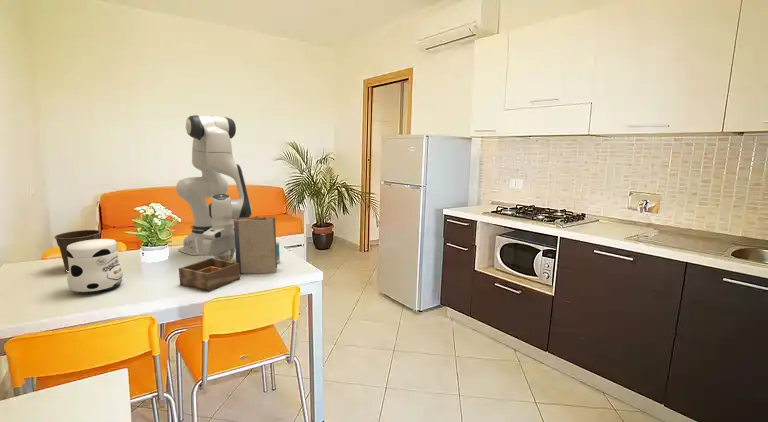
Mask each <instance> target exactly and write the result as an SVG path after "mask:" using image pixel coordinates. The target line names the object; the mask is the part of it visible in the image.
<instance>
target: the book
mask: <svg viewBox="0 0 768 422" xmlns="http://www.w3.org/2000/svg"><path fill="white" fill-rule="evenodd" d="M233 227H234V232H235V263H239V267H240V274H276V273H277V268H278V265H277V264H278V263H277V257H276V239H277V235H276V233H277V232H276V230H277V229H276V217H275V216H272V217H271V216H270V217H269V216H268V217H266V216H264V217H258V215H255V216H254V217H249V218H236V219H234V220H233Z"/></svg>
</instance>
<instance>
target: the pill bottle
mask: <svg viewBox="0 0 768 422" xmlns="http://www.w3.org/2000/svg"><path fill="white" fill-rule="evenodd" d="M276 257H277V264H279V263H280V260H281V256H280V241H279V239H278V238H276Z"/></svg>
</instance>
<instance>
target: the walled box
mask: <svg viewBox="0 0 768 422" xmlns="http://www.w3.org/2000/svg"><path fill="white" fill-rule="evenodd" d="M178 274H179V275H178V276H179V285H180V286H183V287H187V288H191V289H196V290H199V291H203V292H207V293H210V292H213V291H215V290H217V289H220V288H222V287H225V286H227V285H229V284H232V283H235V282H237V281H239V280H241V273H240V267H239V263H236V261H235V262H234V261H231V262H230V261H225V260H219V259H216V258H215V257H211V258H208V259H204V260H202V261H198V262H195V263H192V264H189V265H185V266H183V267H179V268H178Z"/></svg>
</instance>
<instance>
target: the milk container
mask: <svg viewBox="0 0 768 422" xmlns="http://www.w3.org/2000/svg"><path fill="white" fill-rule="evenodd" d="M67 256H68V257H67V259H68V264H69V272H67V278H66V279H67V280H66V281H67V285H68V288H69V289H70V291H71V292H74V293H75V294H76V293H77V294H93V293H99V292H105V291H108V290H111V289H113V288H115V287H118V286H119V285H120V284H121V283H122V281H123V276H124V274H123V273H124V272H123V269H122V266H121V264H120V261H119V252H118V245H117V241H116V240H115V239H113V238H112V239H111V238H110V239H109V238H100V239H94V240H86V241H80V242H76V243H72V244H70V245H68V246H67Z"/></svg>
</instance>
